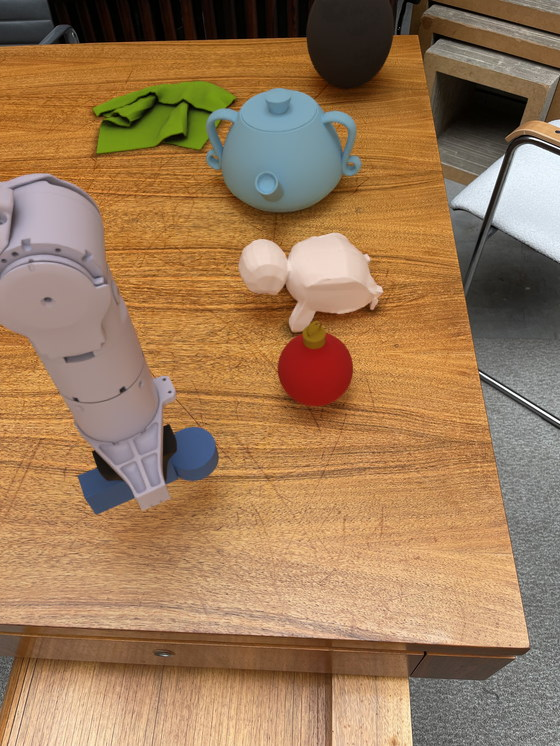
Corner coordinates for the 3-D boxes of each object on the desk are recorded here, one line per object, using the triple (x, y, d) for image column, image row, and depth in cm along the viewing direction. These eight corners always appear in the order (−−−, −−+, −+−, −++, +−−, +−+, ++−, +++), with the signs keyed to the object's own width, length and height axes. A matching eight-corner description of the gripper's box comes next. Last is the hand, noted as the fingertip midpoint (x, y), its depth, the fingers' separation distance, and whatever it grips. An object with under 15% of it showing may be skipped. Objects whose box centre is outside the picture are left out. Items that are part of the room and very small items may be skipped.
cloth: (253, 94, 97) (251, 79, 95) (175, 175, 85) (172, 160, 83) (142, 70, 103) (139, 55, 101) (57, 143, 92) (51, 128, 90)
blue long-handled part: (98, 525, 50) (87, 508, 47) (86, 483, 52) (74, 466, 50) (226, 469, 52) (221, 450, 50) (208, 432, 54) (203, 412, 52)
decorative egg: (307, 65, 101) (305, -41, 89) (386, 61, 100) (394, -46, 88) (307, 108, 93) (304, -2, 82) (392, 104, 93) (401, -7, 81)
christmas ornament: (323, 351, 66) (322, 281, 58) (366, 396, 62) (372, 328, 54) (266, 385, 63) (257, 317, 55) (308, 433, 60) (304, 369, 52)
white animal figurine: (345, 285, 75) (223, 271, 70) (375, 228, 69) (243, 209, 64) (364, 339, 70) (234, 329, 65) (398, 282, 64) (257, 266, 59)
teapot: (364, 153, 86) (369, 60, 76) (352, 255, 74) (356, 161, 64) (222, 149, 89) (208, 58, 78) (188, 246, 77) (167, 154, 67)
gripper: (199, 428, 37) (228, 525, 47) (126, 273, 45) (165, 386, 56) (80, 478, 35) (138, 566, 46) (27, 308, 43) (87, 417, 54)
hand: (147, 470), depth 51 cm, fingers closed on blue long-handled part, 2 cm apart
